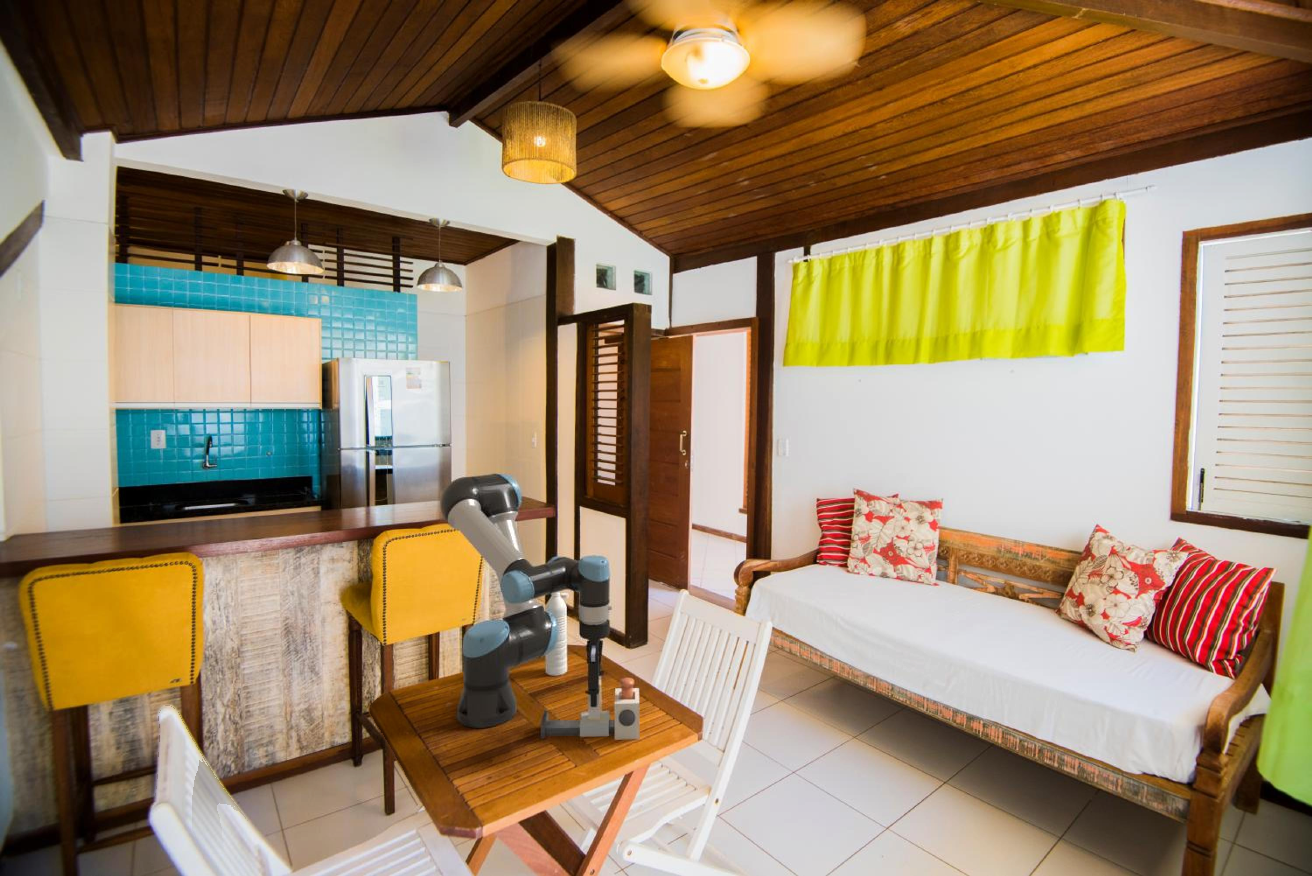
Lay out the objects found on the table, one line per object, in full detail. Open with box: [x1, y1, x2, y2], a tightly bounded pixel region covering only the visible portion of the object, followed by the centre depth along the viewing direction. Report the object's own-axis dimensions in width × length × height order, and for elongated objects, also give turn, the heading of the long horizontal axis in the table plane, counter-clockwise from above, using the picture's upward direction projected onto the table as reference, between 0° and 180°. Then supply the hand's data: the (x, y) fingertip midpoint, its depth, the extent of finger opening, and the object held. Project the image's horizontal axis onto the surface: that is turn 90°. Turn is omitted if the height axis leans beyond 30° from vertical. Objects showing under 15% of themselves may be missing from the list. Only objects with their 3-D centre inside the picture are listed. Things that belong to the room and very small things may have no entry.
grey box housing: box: [614, 687, 640, 741], centre depth 154 cm, size 6×8×9 cm
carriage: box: [579, 678, 611, 738], centre depth 154 cm, size 7×7×12 cm
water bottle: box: [544, 591, 570, 677], centre depth 187 cm, size 9×6×25 cm
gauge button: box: [619, 677, 635, 700], centre depth 154 cm, size 4×4×6 cm
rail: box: [540, 710, 615, 740], centre depth 154 cm, size 19×6×4 cm, turn 92°
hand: (595, 709), depth 154 cm, fingers open, 7 cm apart
